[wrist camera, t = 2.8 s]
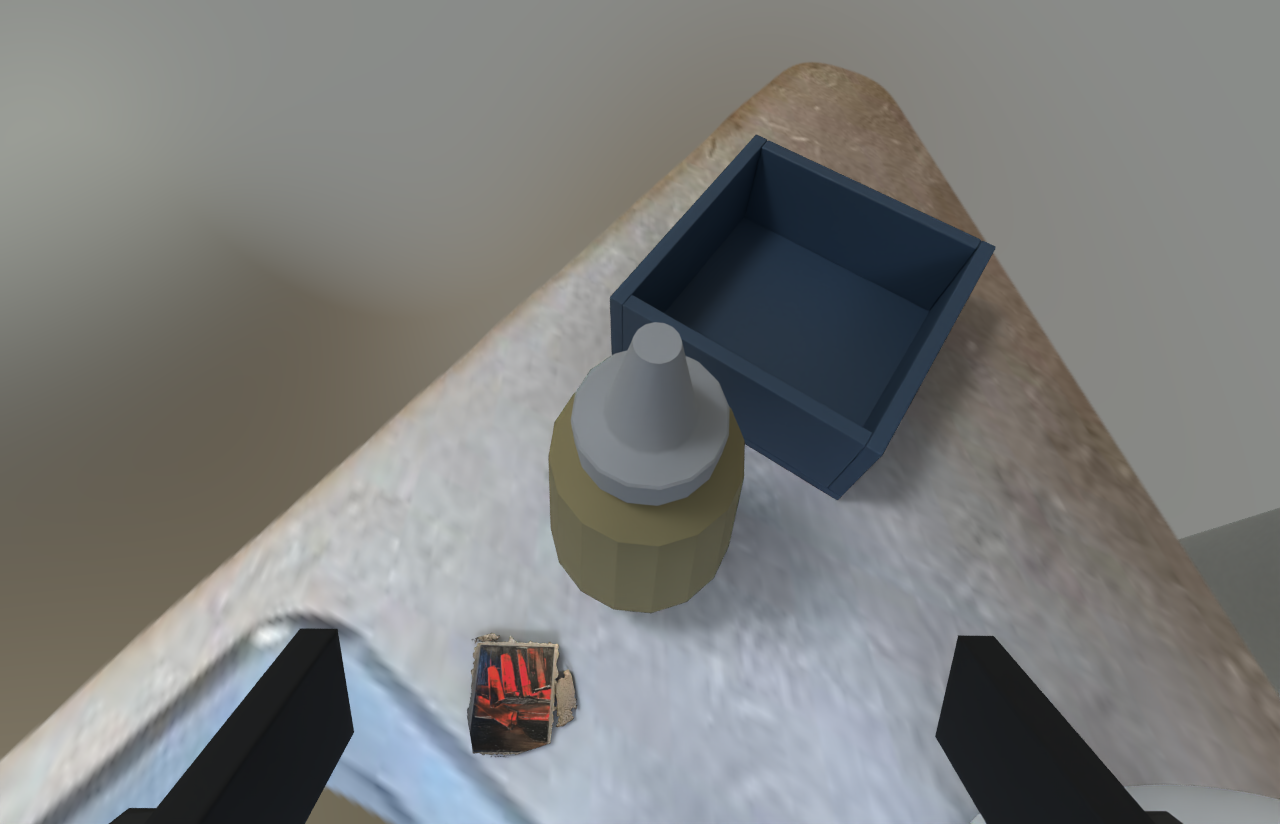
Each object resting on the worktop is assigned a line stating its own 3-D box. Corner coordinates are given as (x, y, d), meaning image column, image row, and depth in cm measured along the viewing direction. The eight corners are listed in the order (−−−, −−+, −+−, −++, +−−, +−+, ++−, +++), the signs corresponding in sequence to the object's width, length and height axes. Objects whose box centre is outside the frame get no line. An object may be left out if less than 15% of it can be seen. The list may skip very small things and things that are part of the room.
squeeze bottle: (603, 657, 28) (575, 580, 12) (532, 508, 31) (433, 283, 15) (750, 574, 29) (902, 407, 13) (669, 441, 33) (714, 176, 17)
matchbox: (474, 766, 25) (471, 767, 25) (460, 641, 28) (458, 640, 27) (582, 736, 26) (581, 736, 26) (560, 616, 28) (559, 614, 28)
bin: (941, 315, 37) (996, 246, 31) (837, 500, 31) (882, 455, 26) (738, 211, 40) (756, 133, 35) (611, 362, 35) (609, 297, 29)
